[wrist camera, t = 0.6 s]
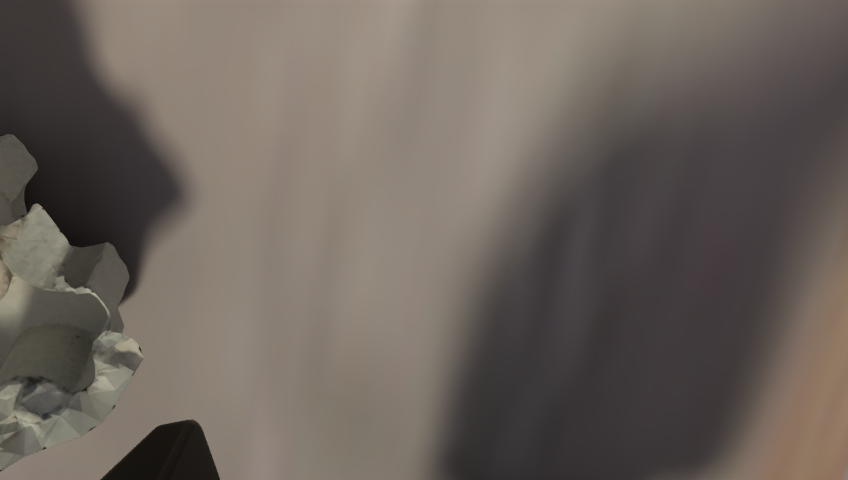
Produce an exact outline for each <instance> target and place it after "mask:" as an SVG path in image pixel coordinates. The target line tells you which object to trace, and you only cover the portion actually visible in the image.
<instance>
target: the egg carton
mask: <svg viewBox="0 0 848 480" xmlns="http://www.w3.org/2000/svg"><path fill="white" fill-rule="evenodd" d="M37 170H38V166H37V163H36V160H35V158H34V157H33V156H31V155H30V154H29V152H28V151H27V149H26V148H25V146H24V144H23V143H21V142H20V141H19V140H18V139H17V138H16V137H15V136H14V135H11V134H6V135H4V136H0V471H2V470H4V469H5V468H7V467H8V466H10V465H12V464H13V463H15V462H17V461H18V460H20V459H21V458H23V457H25V456H27V455H30V454H33V453H35V452H38V451H41V450H43V449H46V448H49V447H52V446H55V445H58V444H61V443H63V442H66V441H69V440H72V439H75V438H78V437H81V436H83V435H84V434H86V433H87V432H89V431H90V430H92V429H93V428H95V427H96V426H98V425H99V424H101V423H102V422H103V421H104V420H105V418H106V417H107V416H108V415H109V414H110V412H111V411H112V410H113V409H114V407H115V405H116V404H117V402H118V400H119V399H120V397H121V395H122V393H123V392H124V390H125V388H126V386H127V385H128V383H129V381H130V380H131V378H132V376H133V374H134V373H135V371H136V370H137V368H138V366H139V365H140V363H141V362H142V360H143V359H144V358H143V355H142V352H141V349H140V346H139V345H138V344H137V343H136V342H135V341H134V340H133V339H131V338H128V337H126V336H124V335H122V332H123V328H124V324H123V322H122V319H121V316H120V314H119V311H118V305H119V303H120V301H121V299H122V297H123V294H124V291H125V288H126V286H127V283H128V281H129V274H128V270H127V267H126V265H125V264H124V262H123V261H122V260H121V259H120V257H119V255H118V253H117V251H116V249H115V247H114V246H113V245H111V244H110V243H108V242H106V243H102V244H98V245H93V246H88V247H82V248H81V247H76V246H71V245H70V244H69V242H68V240H67V239H66V237H65V236H64V235H63V234H62V233H61V231H60V230H59V228H58V227H57V226H56V224H55V223H54V222H53V220H52V219H51V218H50V216H49V215H48V214H47V212H46V211H45V210H44V209H43V207H42V206H40V205H39V204H33V206H32V207H31V209H30V211H29V213H27V211H26V207H25V202H24V191H25V187H26V185H27V183H28V182H29V181H30V179H31V178H32V177H33V175H34V174H35V173H36V171H37Z"/></svg>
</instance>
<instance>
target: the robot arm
mask: <svg viewBox="0 0 848 480" xmlns="http://www.w3.org/2000/svg"><path fill="white" fill-rule="evenodd" d="M101 480H220V478H219V474H218V472H217V469H216V466H215V463H214V460H213V458H212V455H211V452H210V449H209V446H208V444H207V441H206V438H205V435H204V432H203V430H202V428H201V426H200V425H199V423H198V422H196V421H195V420H185V421H179V422H174V423H169V424H164V425H160V426H158V427H156V428H155V429H154V430H153V431H152V432H151V433H149V434H148V435H147V436H146V437H145V438H144V439H143V440H142V441H141V442H140V443H139V444H138V445H137V446H136V447H135V448H134V449H132V450H131V451H130V452H129V453H128V454H127V455H126V456H125V457H124V458H123V459H122V460H121V461H120V462H119V463H118V464H116V465H115V466H114V467H113V468H112V469H111V470H110V471H109V472H108V473H107V474H106V475H105V476H104V477H103V478H102V479H101Z"/></svg>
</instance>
